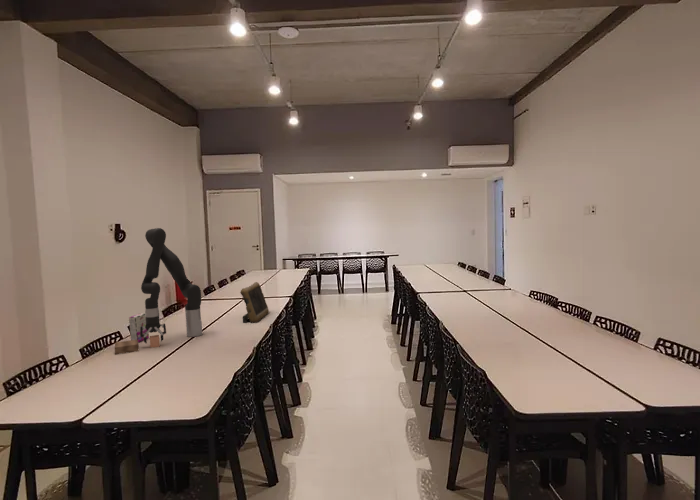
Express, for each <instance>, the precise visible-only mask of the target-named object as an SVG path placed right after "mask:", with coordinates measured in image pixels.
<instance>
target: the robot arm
mask: <svg viewBox="0 0 700 500" xmlns="http://www.w3.org/2000/svg"><path fill="white" fill-rule="evenodd" d="M144 236H145V240H146V241H147V243H148V244H149V245H150V246H151V248H152V250H151V252H150V255H149V257H148V259H147V263H146V267H145V275H144V277H143V280H142V283H141V285H140V289H141V292H142V293H143V294H144V295H145V294H146V295H150V297H147V298H146V299H145V301H144V305H145V307H144V308H145V309H144V313H145V317H146V326H140V336H141V337H144V340H143V342H144V343H145V344H147V343H148V342H147V341H148V339H146V336H147V334H149V333H157V332H158V334H160V342H163V341H164V335H166V334H167V327H166V323H164V322H163V323H162V324H161V323H160V322H161V321H160V309H159V298H160V293H161V286H160V284H159V283H158V282H156V281H153V280H154V279H158V277H159V274H160V263H161V262H162V263H163V265H164V267H165V269H167V271H168V273H169V274H170V275H171V277H172V279H173V280H174V281H175V283H176V284H177V286H178V288H179V290H180V292H181V295H182V296H184V297H185V298H186V299H187V301H186V302H187V303H186V304H185V305H184V313H185V327H186V337H188V338H193V337H194V338H195V337H200V336H203V322H202V317H201V316H202V315H201V312H202V311H201V305H202V291H201V288H200V286H199V285H197V284H193V283H192V282H191V281H190V280H189V278H188V277H187V275H186V272H185V268H184V265H183V263H182V261H181V260H180V258H179V257H178V255H177V254H175V253H174V252H173V251H172V250H170V248H169V247H168V246H166V243H165V242H166V239H167V233H166V231H165V230H164V229H162V228H161V227H156V228H151V229H148V230H147V231H145V235H144ZM144 328H146V329H147V331H146V333H145V334H143V330H144ZM160 328H163V331H162V330H161V329H160Z"/></svg>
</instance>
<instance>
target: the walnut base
mask: <svg viewBox="0 0 700 500" xmlns="http://www.w3.org/2000/svg"><path fill="white" fill-rule="evenodd" d="M138 349H139V343H138V339H137V340H131V339H130V340H125V341H124V340H123V341H119V342H115V343H114V355H120V354H119V353H122V354H127V353H126V352H129V353H134V351H136V352H139V350H138Z"/></svg>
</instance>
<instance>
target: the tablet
mask: <svg viewBox="0 0 700 500" xmlns="http://www.w3.org/2000/svg"><path fill="white" fill-rule="evenodd" d="M239 293H240V295H241V296H242V299H243V302H244V303H245V309H246V313H245V314H244V315H243V316H242V323H243V324H246V323H247V322H248V321H249V322H250V323H251V324H256V323H258V322H259V321H260V320H261V319H263V318H264V317H265V316H267V315H268V314H269V311H270V310H269V306H268V304H267V301H266V297H265V295H264V293H263V290H262V287H261V285H260V283H259V282H257V281H255V282H254V283H252V284H251V285H249V286H246V287H245V288H244V287H243V288H241V289H240V292H239Z"/></svg>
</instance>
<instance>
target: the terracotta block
mask: <svg viewBox="0 0 700 500" xmlns="http://www.w3.org/2000/svg"><path fill="white" fill-rule="evenodd" d="M160 343H161V341H160V336H159V334H156V335H149V344H150V345H149V346H150V348H151V347H153V348H159V346H160V345H161V344H160Z"/></svg>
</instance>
